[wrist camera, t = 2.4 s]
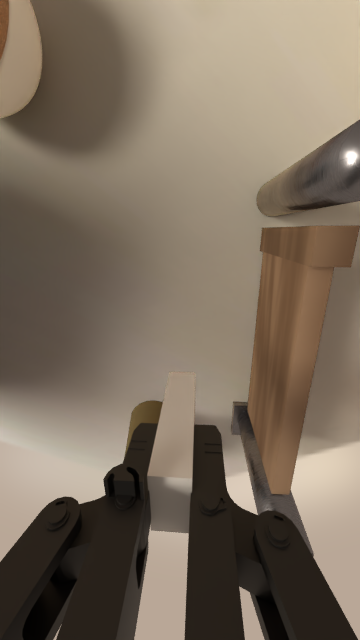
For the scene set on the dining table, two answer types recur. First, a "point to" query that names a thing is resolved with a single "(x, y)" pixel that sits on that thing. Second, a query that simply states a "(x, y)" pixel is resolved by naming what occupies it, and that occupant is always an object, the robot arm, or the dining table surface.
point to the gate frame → (284, 198)
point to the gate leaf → (290, 336)
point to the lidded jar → (18, 55)
